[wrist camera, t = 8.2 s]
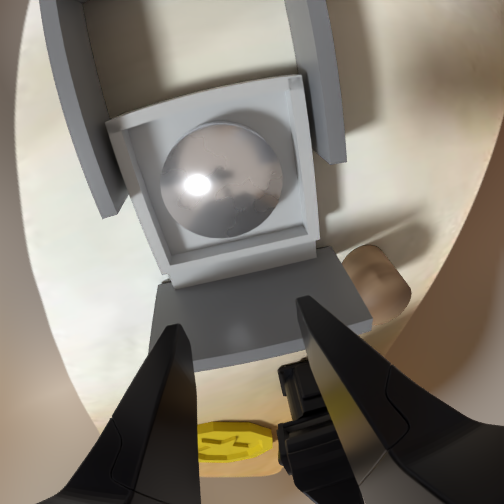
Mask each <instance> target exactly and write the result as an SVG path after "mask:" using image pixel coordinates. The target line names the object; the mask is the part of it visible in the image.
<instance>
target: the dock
mask: <svg viewBox="0 0 504 504" xmlns="http://www.w3.org/2000/svg"><path fill="white" fill-rule="evenodd" d="M86 1H88V0H39V4H40V11H41V18H42V24H43V30H44V35H45V40H46V46H47V50H48V55H49V60H50V64H51V68H52V73H53V77H54V81H55V85H56V88H57V92H58V96H59V99H60V103H61V106H62V110H63V113H64V117H65V120H66V123H67V126H68V129H69V132H70V135H71V138H72V141H73V144H74V147H75V150H76V153H77V156H78V159H79V161H80V164H81V167H82V170H83V172H84V175H85V178H86V180H87V183H88V185H89V188H90V190H91V193H92V195H93V198H94V200H95V203H96V205H97V207H98V210H99V212H100V214H101V217H102V219H104V218H107V217H110V216H114V215H117V214H118V212H119V211H120V209H121V207H122V205H123V203H124V202H125V200H126V198H127V196H128V194H129V193H128V190H127V187H126V185H125V182H124V179H123V176H122V173H121V170H120V168H119V165H118V162H117V159H116V156H115V153H114V150H113V147H112V144H111V141H110V138H109V134H108V131H107V128H106V125H105V122H107V121H108V120H110V118H109V115H108V111H107V108H106V104H105V101H104V97H103V93H102V90H101V86H100V82H99V78H98V74H97V71H96V67H95V62H94V58H93V54H92V50H91V45H90V41H89V36H88V31H87V26H86V21H85V16H84V11H83V5H82V3H84V2H86ZM284 1H285V6H286V10H287V15H288V20H289V25H290V30H291V35H292V40H293V46H294V51H295V57H296V63H297V68H298V74H299V75H302V81H303V87H304V94H305V101H306V108H307V115H308V122H309V130H310V138H311V146H312V149H313V150H314V151H315V152H316V153H317V154H318V155H320V156H321V157H322V158H323V159H324V160H325V161H327V162H328V163H329V164H330V165H332V164H338V163H344V162H347V155H346V141H345V129H344V118H343V108H342V99H341V90H340V82H339V75H338V68H337V61H336V54H335V48H334V42H333V36H332V30H331V25H330V19H329V14H328V9H327V4H326V0H284Z"/></svg>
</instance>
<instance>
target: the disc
mask: <svg viewBox="0 0 504 504" xmlns="http://www.w3.org/2000/svg"><path fill="white" fill-rule="evenodd" d="M282 183H283V178H282V170H281V166H280V163H279V160H278V158H277V156H276V154H275V152H274V151H273V150H272V148H271V147H270V146H269V144H268V143H267V142H266V140H265V139H264V138H263V137H262V136H261V135H260V134H259V133H257V132H256V131H254V130H253V129H251V128H249V127H248V126H245V125H243V124H240V123H237V122H232V121H212V122H207V123H204V124H200V125H198V126H196V127H194V128H192V129H190V130H189V131H187V132H186V133H185V134H184V135H182V136H181V137H180V138H179V139H178V140H177V141H176V143H175V144H174V145H173V147H172V148H171V150H170V152H169V154H168V156H167V158H166V160H165V163H164V166H163V169H162V173H161V180H160V187H161V194H162V198H163V201H164V204H165V206H166V208H167V210H168V211H169V213H170V214H171V216H172V217H173V218H174V219H175V220H176V221H177V222H178V223H179V224H180V225H181V226H183V227H184V228H185V229H187V230H189V231H190V232H193V233H195V234H197V235H200V236H204V237H209V238H219V239H220V238H231V237H236V236H239V235H242V234H245V233H247V232H249V231H251V230H253V229H255V228H256V227H258V226H259V225H260V224H262V223H263V222H264V221H265V220H266V219H267V218H268V217H269V216H270V214H271V213H272V212H273V210H274V209H275V207H276V205H277V203H278V201H279V198H280V195H281V191H282Z"/></svg>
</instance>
